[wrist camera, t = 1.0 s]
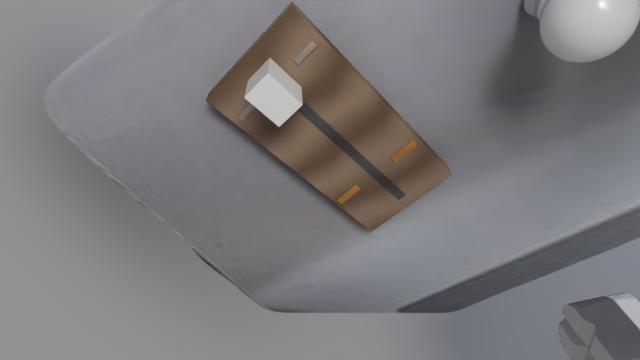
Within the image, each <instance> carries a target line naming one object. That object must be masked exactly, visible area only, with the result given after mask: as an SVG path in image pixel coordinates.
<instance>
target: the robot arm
mask: <svg viewBox="0 0 640 360" xmlns="http://www.w3.org/2000/svg"><path fill="white" fill-rule="evenodd" d="M562 313H563V315H564V316H565V319H564V320H563V321H562V322H560V324H559V329H558V333H559V336H560V341H561V343H562V346H563V348H564V350H565V351H566V353H567V355H568V356H569V358H570V359H571V360H640V302H639V301H638V300H637V299H636V298H635V297H634V296H632V295H631V294H629V293H619V294H614V295H609V296H603V297H598V298H593V299H588V300H584V301H580V302H575V303H570V304H567V305H565V306H564V307H563V311H562Z"/></svg>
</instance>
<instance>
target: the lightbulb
mask: <svg viewBox="0 0 640 360" xmlns="http://www.w3.org/2000/svg"><path fill="white" fill-rule="evenodd" d="M524 10H525V12H526V13H527V14H529V15H531V16H533V17H535V18H537V19H538V20H539V22H540V23H539V31H540V36H541V40H542V42H543V44H544V46H545V47H546V49H547V50H548V51H549V52H550V53H551V54H553V55H554V56H555V57H557V58H559V59H561V60H564V61H567V62H572V63H587V62H593V61H597V60H600V59H602V58H605V57H607V56H609V55H611V54H612V53H614V52H616V51H617V50H618V49H620V48H621V47H622V46H623V45H624V44H625V43H626V42H627V41H628V40H629V39H630V38H631V36H632V35H633V33H634V32H635V30H636V28H637V26H638V24H639V21H640V0H524Z"/></svg>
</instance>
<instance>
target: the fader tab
mask: <svg viewBox="0 0 640 360" xmlns="http://www.w3.org/2000/svg"><path fill="white" fill-rule="evenodd" d="M244 98H245V99H246V100H247V101H249V102H250V103H251V104H252V105H253V106H255V107H256V108H257V109H258V110H259V111H261V112H262V113H263V114H264V115H265V116H266V117H268V118H269V119H270V120H271V121H272V122H274V123H275V124H276V125H277V126H278V127H280V126H281V125H282V124H283V123H284V122H285V121H286V120H287V119H288V118H289V117H290V116H291V115H293V114H294V113H295V112H296V111H297V110H298V109H299V108H300V107H301V106H302V105H303V101H302V87H301V86H300V85H299V84H298V83H297V82H296V81H295V80H294V79H292V78H291V77H290V76H289V75H288V74H287V73H286V72H285V71H284V70H283V69H282V68H281V67H280V66H279V65H277V64H276V63H275V62H274V61H273V60H272V59H271V58H269V59H268V60H267V61H266V62H265V63H264V64H263V65H262V66H261V67H260V68H259V69H258V70H257V71H256V73H255V74H254V75H253V76H252V77H251V78H250V79H249V80H248V83H247V87H246V92H245V96H244Z"/></svg>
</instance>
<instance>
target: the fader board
mask: <svg viewBox="0 0 640 360" xmlns="http://www.w3.org/2000/svg"><path fill="white" fill-rule="evenodd" d="M269 58H271V59H272V60H273V61H274V62H275V63H276V64H277V65H279V66H280V67H281V68H282V69H283V70H284V71H285V72H286V73H287V74H288V75H289V76H290V77H291V78H292V79H294V80H295V81H296V82H297V83H298V84H299V85H300V86H301V87H302V101H303V105H302V106H301V107H300V108H299V109H298V110H297V111H296V112H295V113H294V114H293V115H291V116H290V117H289V118H288V119H287V120H286V121H285V122H284V123H283V124H282V125H281V126H280V127H278V126H277V125H276V124H275V123H274V122H272V121H271V120H270V119H269V118H268V117H266V116H265V115H264V114H263V113H262V112H261V111H259V110H258V109H257V108H256V107H255V106H253V105H252V104H251V103H250V102H249V101H247V100H246V99H245V98H244V96H245V92H246V87H247V83H248V80H249V79H250V78H251V77H252V76H253V75H254V74H255V73H256V71H257V70H258V69H259V68H260V67H261V66H262V65H263V64H264V63H265V62H266V61H267V60H268V59H269ZM206 101H207V102H208V103H209V104H211V105H212V106H213V107H214V108H216V109H217V110H218V111H219V112H221V113H222V114H223V115H225V116H226V117H227V118H228V119H230V120H231V121H232V122H233V123H235V124H236V125H237V126H238V127H240V128H241V129H242V130H243V131H245V132H246V133H247V134H249V135H250V136H251V137H252V138H254V139H255V140H256V141H257V142H259V143H260V144H261V145H262V146H264V147H265V148H266V149H267V150H269V151H270V152H271V153H273V154H274V155H275V156H276V157H278V158H279V159H280V160H281V161H283V162H284V163H285V164H286V165H288V166H289V167H290V168H292V169H293V170H294V171H295V172H297V173H298V174H299V175H300V176H302V177H303V178H304V179H305V180H307V181H308V182H309V183H310V184H312V185H313V186H314V187H316V188H317V189H318V190H319V191H321V192H322V193H323V194H324V195H326V196H327V197H328V198H329V199H331V200H332V201H333V202H335V203H336V204H337V205H338V206H340V207H341V208H342V209H343V210H345V211H346V212H347V213H348V214H350V215H351V216H352V217H353V218H355V219H356V220H357V221H359V222H360V223H361V224H362V225H364V226H365V227H366V228H367V229H369V230H370V231H372V230H374V229H375V228H377V227H378V226H379V225H381V224H382V223H384V222H385V221H387V220H388V219H389V218H391V217H392V216H394V215H395V214H396V213H398V212H399V211H401V210H402V209H403V208H405V207H406V206H408V205H409V204H410V203H412V202H413V201H415V200H416V199H417V198H419V197H420V196H422V195H423V194H424V193H426V192H427V191H429V190H430V189H431V188H433V187H434V186H436V185H437V184H438V183H440V182H441V181H443V180H444V179H445V178H447V177H448V176H450V175H451V174H452V173H451V171H450V170H449V168H448V166H447V165H446V164H445V162H444V161H443V160H442V159H441V158H440V157H439V156H438V155H437V154H436V153H435V152H434V151H433V150H432V149H431V148H430V147H429V146H428V144H427V143H426V142H425V141H424V140H423V139H422V138H421V137H420V136H419V135H418V134H417V133H416V132H415V131H414V130H413V129H412V128H411V127H410V125H409V124H408V123H407V122H406V121H405V120H404V119H403V118H402V117H401V116H400V115H399V114H398V113H397V112H396V111H395V110H394V109H393V107H392V106H391V105H390V104H389V103H388V102H387V101H386V100H385V99H384V98H383V97H382V96H381V95H380V94H379V93H378V92H377V91H376V90H375V88H374V87H373V86H372V85H371V84H370V83H369V82H368V81H367V80H366V79H365V78H364V77H363V76H362V75H361V74H360V73H359V72H358V70H357V69H356V68H355V67H354V66H353V65H352V64H351V63H350V62H349V61H348V60H347V59H346V58H345V57H344V56H343V55H342V54H341V53H340V51H339V50H338V49H337V48H336V47H335V46H334V45H333V44H332V43H331V42H330V41H329V40H328V39H327V38H326V37H325V36H324V35H323V33H322V32H321V31H320V30H319V29H318V28H317V27H316V26H315V25H314V24H313V23H312V22H311V21H310V20H309V19H308V18H307V17H306V16H305V14H304V13H303V12H302V11H301V10H300V9H299V8H298V7H297V6H296V5H295V4H294V3H293V2H291V3H290V4H289V5H288V7H287V8H286V9H285V10H284V11H283V12H282V13H281V14H280V15H279V16H278V18H277V19H276V20H275V21H274V22H273V23H272V24H271V25H270V26H269V27H268V29H267V30H266V31H265V32H264V33H263V34H262V35H261V36H260V37H259V38H258V40H257V41H256V42H255V43H254V44H253V45H252V46H251V47H250V48H249V49H248V50H247V52H246V53H245V54H244V55H243V56H242V57H241V58H240V59H239V60H238V61H237V63H236V64H235V65H234V66H233V67H232V68H231V69H230V70H229V71H228V72H227V74H226V75H225V76H224V77H223V78H222V79H221V80H220V81H219V82H218V83H217V85H216V86H215V87H214V88H213V89H212V90H211V91H210V92H209V94H208V97H207V99H206Z"/></svg>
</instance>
